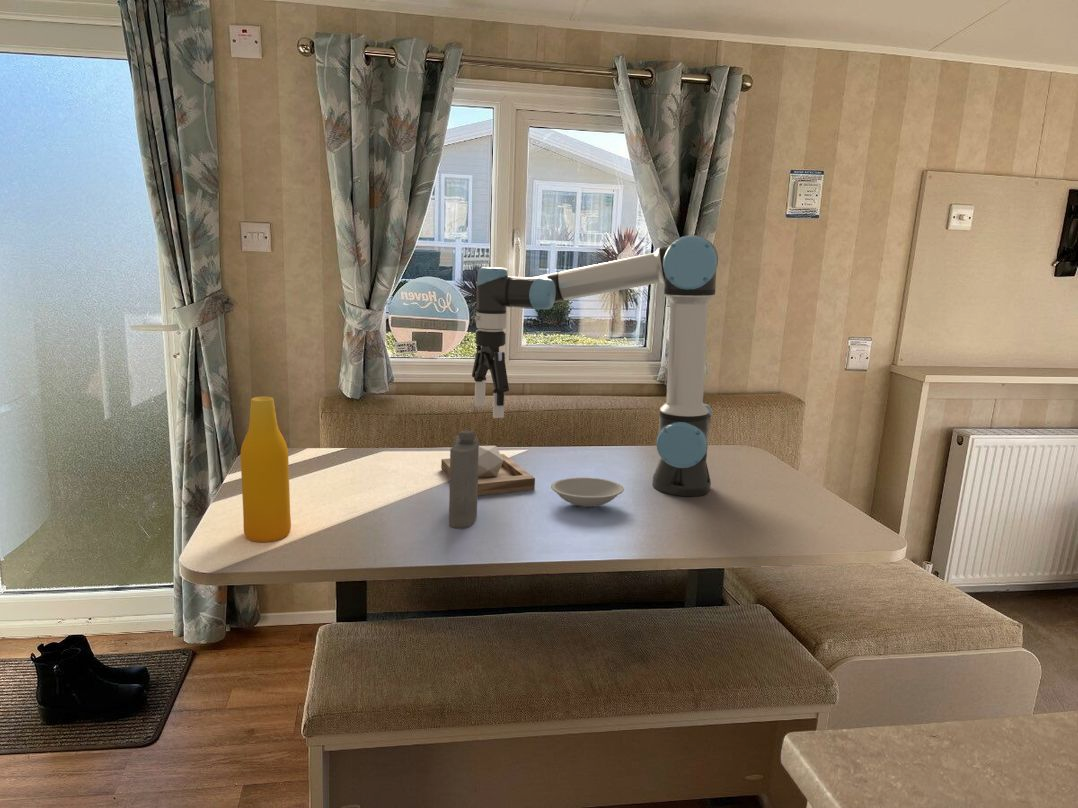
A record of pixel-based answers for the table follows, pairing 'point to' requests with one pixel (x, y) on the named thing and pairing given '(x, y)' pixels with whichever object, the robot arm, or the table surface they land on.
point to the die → (489, 461)
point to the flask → (463, 480)
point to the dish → (587, 491)
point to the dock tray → (501, 478)
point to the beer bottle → (265, 475)
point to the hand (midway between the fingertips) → (488, 411)
